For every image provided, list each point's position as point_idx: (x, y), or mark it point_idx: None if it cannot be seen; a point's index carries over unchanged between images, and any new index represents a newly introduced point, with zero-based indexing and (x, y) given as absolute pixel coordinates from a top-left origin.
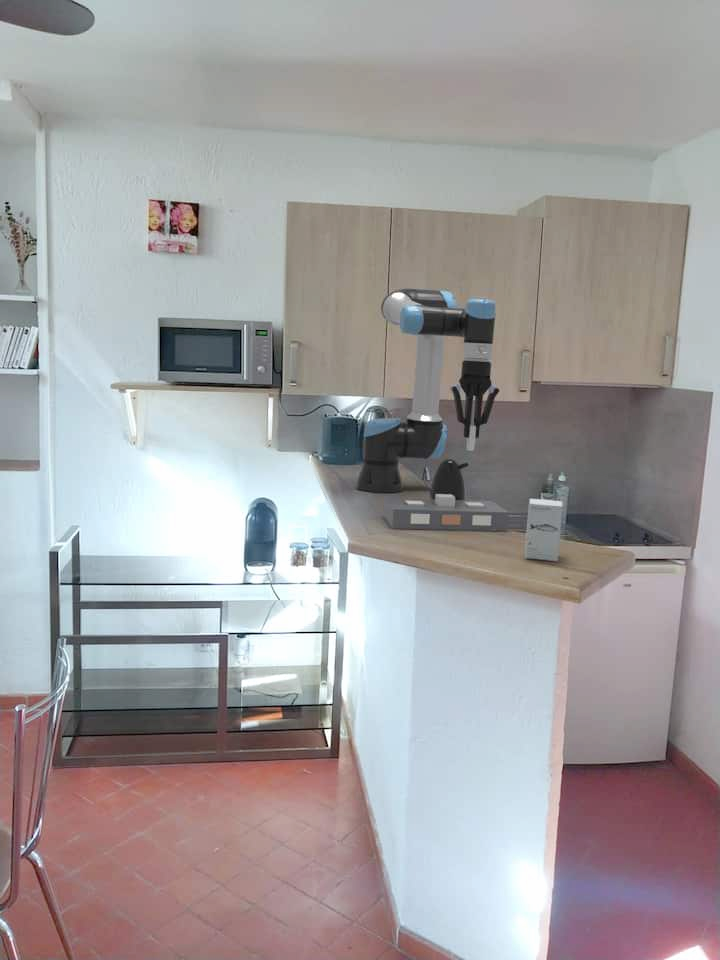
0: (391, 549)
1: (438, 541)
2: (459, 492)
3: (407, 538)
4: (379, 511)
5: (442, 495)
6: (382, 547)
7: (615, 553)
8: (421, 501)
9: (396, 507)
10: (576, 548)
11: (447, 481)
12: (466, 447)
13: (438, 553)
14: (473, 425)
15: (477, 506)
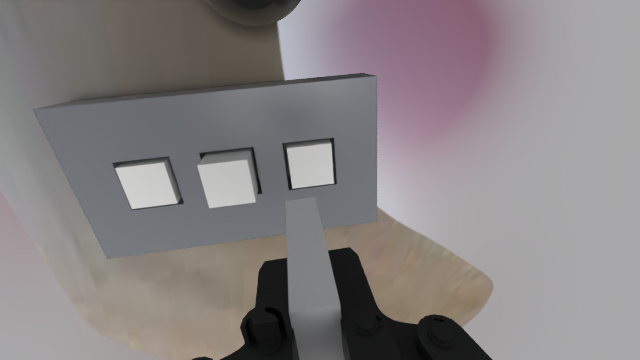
0: (157, 351)
1: (227, 296)
2: (285, 9)
3: (172, 291)
4: (38, 25)
5: (219, 183)
6: (141, 346)
7: (479, 295)
8: (164, 170)
9: (109, 237)
10: (437, 284)
11: (232, 1)
12: (286, 209)
13: (227, 352)
14: (336, 322)
15: (315, 184)
